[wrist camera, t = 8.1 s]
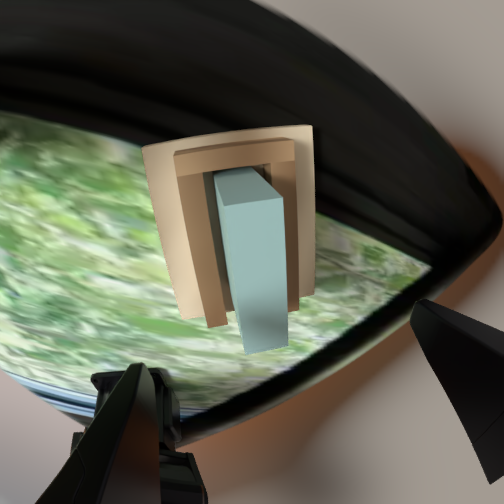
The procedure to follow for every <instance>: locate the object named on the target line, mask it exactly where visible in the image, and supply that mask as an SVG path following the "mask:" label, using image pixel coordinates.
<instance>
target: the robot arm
mask: <svg viewBox="0 0 504 504" xmlns="http://www.w3.org/2000/svg"><path fill="white" fill-rule="evenodd" d="M410 325H411V327H412V329H413V331H414V333H415V336H416V338H417V339H418V342H419V344H420V346H421V348H422V350H423V352H424V355H425V356H426V359H427V360H428V362H429V364H430V366H431V367H432V369H433V371H434V373H435V374H436V376H437V378H438V380H439V381H440V383H441V385H442V387H443V389H444V390H445V392H446V394H447V396H448V398H449V399H450V402H451V403H452V405H453V407H454V409H455V411H456V413H457V415H458V417H459V419H460V421H461V423H462V425H463V427H464V429H465V431H466V433H467V435H468V437H469V439H470V441H471V443H472V446H473V448H474V450H475V452H476V454H477V457H478V459H479V461H480V464H481V466H482V468H483V470H484V473H485V475H486V478H487V480H488V482H489V484H492V483H494V482H495V481H497V480H498V479H499V478H501V477H502V476H504V332H503V331H500V330H498V329H496V328H493V327H491V326H489V325H486V324H484V323H482V322H479V321H477V320H475V319H472V318H470V317H467V316H465V315H463V314H461V313H458V312H456V311H454V310H451V309H449V308H446V307H444V306H442V305H439V304H437V303H434V302H432V301H430V300H427V299H422V300H419V301H417V302H415V304H414V306H413V310H412V314H411V317H410ZM154 374H155V375H154ZM91 382H92V383H93V385H94V386H95V388H96V389H97V390H98V395H97V401H96V407H95V413H94V419H93V421H92V422H91V424H90V425H89V427H86V426H85V430H84V432H74V434H73V439H72V445H71V452H70V457H69V459H68V460H67V462H66V463H65V465H64V466H63V467H62V469H61V470H60V472H59V473H58V474H57V476H56V477H55V478H54V480H53V481H52V482H51V484H50V485H49V486H48V488H47V489H46V490H45V491H44V493H43V494H42V495H41V496H40V498H39V499H38V500H37V501H36V503H35V504H208V496H207V492H206V488H205V486H204V484H203V481H202V478H201V475H200V473H199V470H198V467H197V464H196V462H195V458H194V455H193V454H192V453H188V452H186V453H182V452H176V450H175V442H176V441H180V439H181V428H180V410H179V402H178V400H177V398H176V396H175V394H174V392H173V390H172V388H170V387H168V386H167V384H166V382H165V380H164V378H163V376H162V374H161V372H160V371H159V370H158V369H147V367H146V365H145V364H144V363H142V362H141V363H132V364H130V365H129V367H128V368H127V370H126V371H125V372H115V373H102V374H92V375H91Z"/></svg>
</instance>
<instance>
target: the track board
mask: <svg viewBox="0 0 504 504" xmlns="http://www.w3.org/2000/svg"><path fill="white" fill-rule="evenodd" d="M141 149H142V154H143V160H144V166H145V171H146V176H147V181H148V186H149V191H150V196H151V201H152V206H153V210H154V215H155V219H156V224H157V228H158V232H159V236H160V241H161V245H162V249H163V253H164V257H165V260H166V264H167V268H168V272H169V276H170V279H171V283H172V287H173V290H174V294H175V297H176V301H177V304H178V307H179V311H180V314H181V317H182V320H184V319H190V318H196V317H202V316H205V317H206V321H207V325H208V328H211V327H216V326H222V325H228V322H227V317H226V312H230V311H235V309H234V305H233V301H232V297H231V292H230V288H229V284H228V277H227V271H226V265H225V258H224V252H223V245H222V238H221V231H220V225H219V218H218V211H217V204H216V196H215V189H214V182H213V174H212V171H215V170H222V169H229V168H236V167H243V166H251V167H252V168H253V169H254V170H255V171H256V172H257V173H258V174H259V175H260V176H261V177H262V178H263V179H264V180H265V181H267V182H268V183H269V184H270V185H271V186H272V187H273V188H274V189H275V190H276V191H277V192H278V193H279V194H280V195H281V196H282V197H283V208H284V228H285V250H286V276H287V309H288V312H292V311H297V310H299V298H300V297H305V296H310V295H314V288H315V181H314V153H313V133H312V126H310V125H292V126H278V127H266V128H255V129H246V130H237V131H229V132H221V133H214V134H207V135H200V136H194V137H188V138H182V139H177V140H171V141H166V142H161V143H156V144H151V145H146V146H144V147H142V148H141Z"/></svg>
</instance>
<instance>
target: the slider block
mask: <svg viewBox="0 0 504 504" xmlns="http://www.w3.org/2000/svg"><path fill="white" fill-rule="evenodd" d="M212 174H213V182H214V189H215V196H216V204H217V211H218V218H219V225H220V231H221V238H222V245H223V252H224V258H225V265H226V271H227V277H228V284H229V288H230V292H231V297H232V301H233V305H234V309H235V313H236V318H237V322H238V326H239V330H240V334H241V338H242V342H243V346H244V350H245V354H246V355H248V354H253V353H258V352H263V351H267V350H272V349H277V348H281V347H285V346H288V309H287V276H286V250H285V228H284V208H283V197H282V196H281V195H280V194H279V193H278V192H277V191H276V190H275V189H274V188H273V187H272V186H271V185H270V184H269V183H268V182H267V181H265V180H264V179H263V178H262V177H261V176H260V175H259V174H258V173H257V172H256V171H255V170H254V169H253V168H252V167H251V166H243V167H236V168H229V169H222V170H215V171H212Z"/></svg>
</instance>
